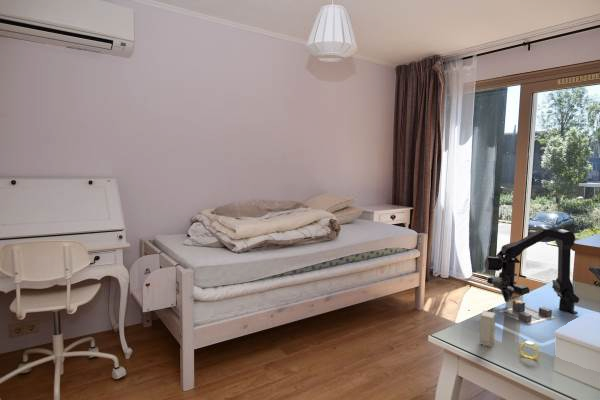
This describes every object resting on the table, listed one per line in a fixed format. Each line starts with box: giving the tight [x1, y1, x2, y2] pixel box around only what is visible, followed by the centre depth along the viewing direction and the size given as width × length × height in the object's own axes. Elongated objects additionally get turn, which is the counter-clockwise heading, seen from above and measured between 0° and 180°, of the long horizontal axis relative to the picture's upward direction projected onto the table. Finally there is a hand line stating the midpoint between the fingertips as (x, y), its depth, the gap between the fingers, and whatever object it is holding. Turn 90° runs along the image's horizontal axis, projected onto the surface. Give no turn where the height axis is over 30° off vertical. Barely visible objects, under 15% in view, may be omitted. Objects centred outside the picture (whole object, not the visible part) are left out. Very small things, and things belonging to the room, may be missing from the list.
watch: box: [519, 340, 540, 360], centre depth 136 cm, size 6×3×6 cm, turn 52°
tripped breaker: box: [511, 299, 526, 313], centre depth 175 cm, size 3×4×4 cm
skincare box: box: [479, 310, 496, 348], centre depth 147 cm, size 6×4×12 cm
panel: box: [497, 305, 557, 326], centre depth 171 cm, size 18×16×4 cm
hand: (506, 301), depth 181 cm, fingers closed
